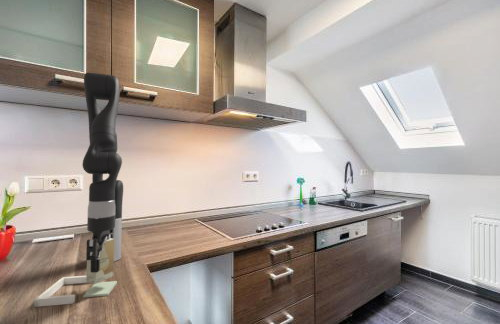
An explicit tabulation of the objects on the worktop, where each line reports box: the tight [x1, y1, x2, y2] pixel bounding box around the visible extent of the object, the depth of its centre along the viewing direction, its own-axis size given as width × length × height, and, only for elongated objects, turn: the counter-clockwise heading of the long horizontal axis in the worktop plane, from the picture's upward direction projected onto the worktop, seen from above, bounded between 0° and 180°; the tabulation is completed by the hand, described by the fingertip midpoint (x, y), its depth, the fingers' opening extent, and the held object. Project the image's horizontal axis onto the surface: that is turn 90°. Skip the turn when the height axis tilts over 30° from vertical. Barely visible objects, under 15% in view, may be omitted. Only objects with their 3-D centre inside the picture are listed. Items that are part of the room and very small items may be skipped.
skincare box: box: [85, 238, 114, 285], centre depth 75 cm, size 6×4×12 cm
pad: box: [83, 280, 118, 298], centre depth 75 cm, size 8×7×1 cm
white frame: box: [33, 275, 91, 308], centre depth 73 cm, size 14×10×2 cm
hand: (100, 266), depth 75 cm, fingers closed on skincare box, 7 cm apart
